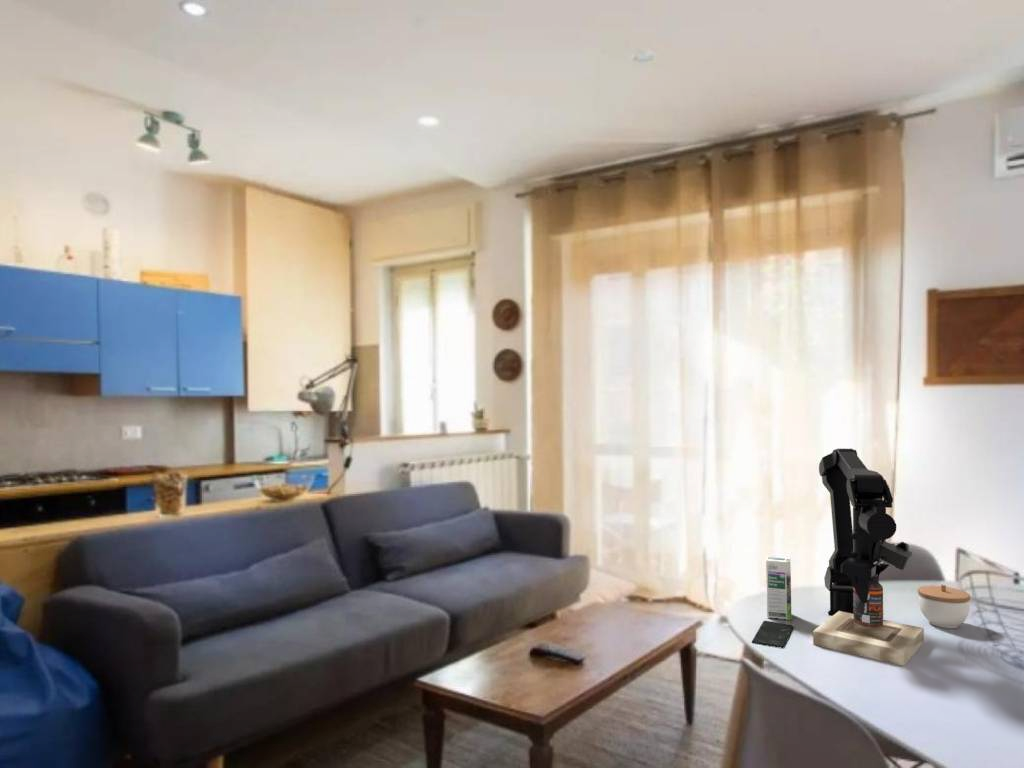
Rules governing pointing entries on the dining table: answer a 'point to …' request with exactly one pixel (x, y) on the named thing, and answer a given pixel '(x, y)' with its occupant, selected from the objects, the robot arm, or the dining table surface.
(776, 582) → the syrup box
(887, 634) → the maple socket board
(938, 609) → the lidded jar
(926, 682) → the dining table surface
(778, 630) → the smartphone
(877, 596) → the supplement bottle
